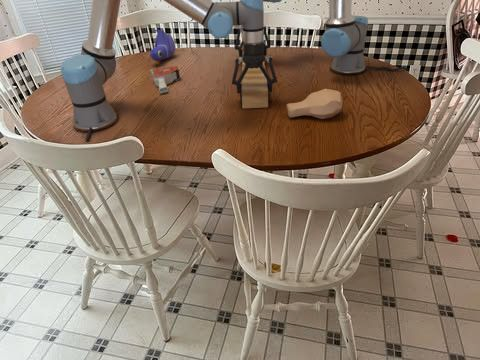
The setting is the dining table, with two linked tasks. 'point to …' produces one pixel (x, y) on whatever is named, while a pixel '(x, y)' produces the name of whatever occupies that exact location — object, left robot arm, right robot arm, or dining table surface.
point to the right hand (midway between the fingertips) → (253, 62)
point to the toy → (162, 46)
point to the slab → (254, 88)
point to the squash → (317, 105)
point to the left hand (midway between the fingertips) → (254, 100)
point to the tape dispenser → (164, 77)
